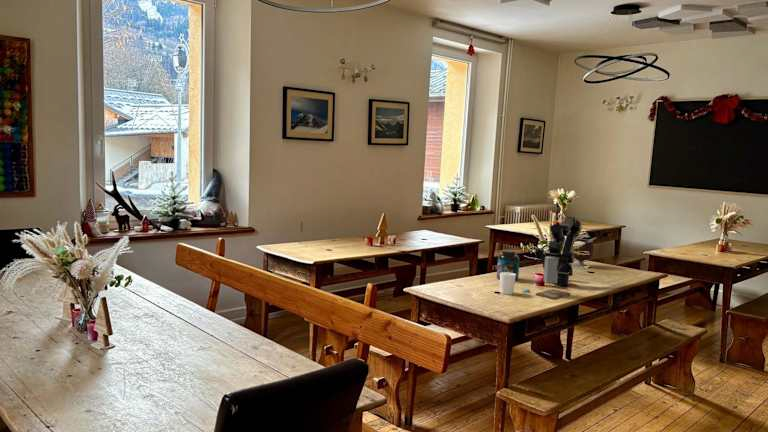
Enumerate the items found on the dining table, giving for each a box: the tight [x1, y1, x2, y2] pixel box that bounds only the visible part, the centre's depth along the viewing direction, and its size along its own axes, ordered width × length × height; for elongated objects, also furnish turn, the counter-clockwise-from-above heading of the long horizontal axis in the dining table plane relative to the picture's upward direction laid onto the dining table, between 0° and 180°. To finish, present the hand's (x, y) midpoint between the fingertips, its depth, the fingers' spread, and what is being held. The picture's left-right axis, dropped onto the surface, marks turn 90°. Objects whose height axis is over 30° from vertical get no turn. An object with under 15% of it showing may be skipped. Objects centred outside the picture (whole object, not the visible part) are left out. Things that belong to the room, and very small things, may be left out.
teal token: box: [522, 288, 530, 294], centre depth 289 cm, size 3×3×1 cm
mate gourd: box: [571, 237, 597, 268], centre depth 364 cm, size 16×14×20 cm
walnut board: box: [535, 288, 571, 300], centre depth 285 cm, size 16×10×1 cm, turn 132°
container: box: [496, 249, 520, 282], centre depth 318 cm, size 12×12×17 cm
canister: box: [543, 256, 559, 284], centre depth 284 cm, size 6×6×12 cm
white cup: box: [499, 272, 516, 296], centre depth 285 cm, size 8×8×10 cm
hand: (550, 269), depth 282 cm, fingers closed on canister, 6 cm apart
